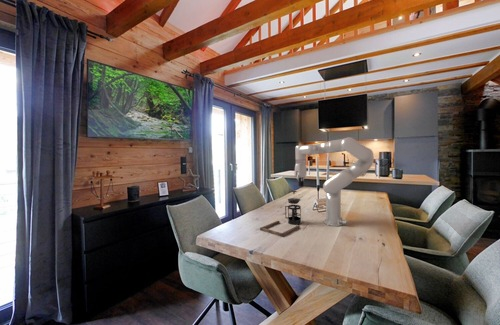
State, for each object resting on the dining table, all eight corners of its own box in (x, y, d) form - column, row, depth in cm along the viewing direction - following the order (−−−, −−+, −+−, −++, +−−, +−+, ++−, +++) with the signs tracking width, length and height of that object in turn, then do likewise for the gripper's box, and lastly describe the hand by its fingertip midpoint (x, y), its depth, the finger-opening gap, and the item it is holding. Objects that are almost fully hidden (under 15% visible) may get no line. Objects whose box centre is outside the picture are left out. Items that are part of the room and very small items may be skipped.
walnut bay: (299, 228, 143) (299, 225, 143) (282, 236, 129) (282, 234, 129) (277, 222, 155) (277, 220, 155) (260, 230, 142) (259, 227, 141)
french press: (303, 221, 156) (302, 190, 155) (301, 225, 148) (300, 192, 147) (287, 220, 161) (286, 189, 160) (284, 224, 152) (283, 191, 151)
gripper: (301, 161, 168) (301, 184, 169) (290, 162, 157) (291, 187, 158) (310, 161, 163) (310, 185, 164) (299, 162, 152) (300, 188, 153)
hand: (301, 186), depth 161 cm, fingers closed
